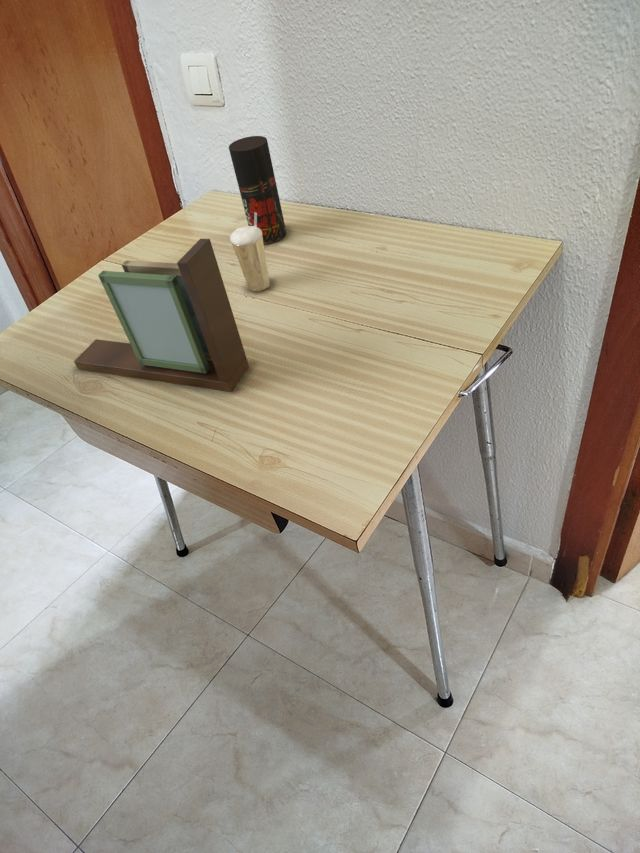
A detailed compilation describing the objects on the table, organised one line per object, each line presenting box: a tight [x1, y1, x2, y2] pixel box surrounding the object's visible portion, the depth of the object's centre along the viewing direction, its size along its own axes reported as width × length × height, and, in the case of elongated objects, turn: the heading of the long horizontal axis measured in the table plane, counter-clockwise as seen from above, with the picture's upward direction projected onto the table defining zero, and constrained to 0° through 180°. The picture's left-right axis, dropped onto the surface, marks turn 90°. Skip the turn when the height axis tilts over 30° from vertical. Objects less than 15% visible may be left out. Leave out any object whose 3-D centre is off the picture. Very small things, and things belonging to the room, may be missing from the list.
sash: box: [97, 270, 210, 373], centre depth 69 cm, size 10×1×13 cm, turn 68°
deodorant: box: [228, 135, 287, 245], centre depth 94 cm, size 6×6×15 cm
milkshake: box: [229, 213, 270, 293], centre depth 85 cm, size 4×5×10 cm
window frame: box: [73, 238, 250, 393], centre depth 71 cm, size 24×5×17 cm, turn 68°
